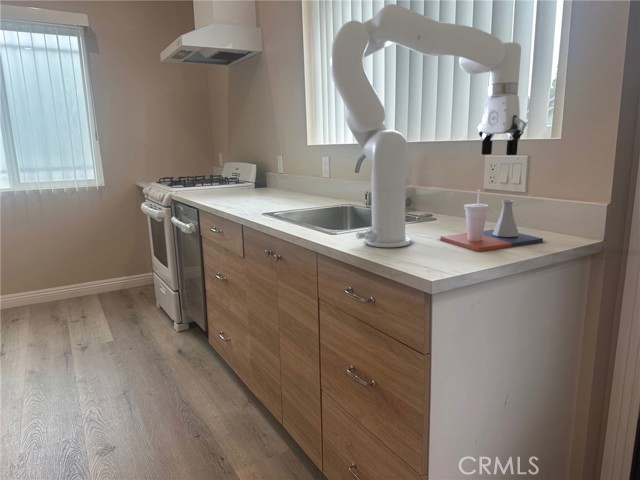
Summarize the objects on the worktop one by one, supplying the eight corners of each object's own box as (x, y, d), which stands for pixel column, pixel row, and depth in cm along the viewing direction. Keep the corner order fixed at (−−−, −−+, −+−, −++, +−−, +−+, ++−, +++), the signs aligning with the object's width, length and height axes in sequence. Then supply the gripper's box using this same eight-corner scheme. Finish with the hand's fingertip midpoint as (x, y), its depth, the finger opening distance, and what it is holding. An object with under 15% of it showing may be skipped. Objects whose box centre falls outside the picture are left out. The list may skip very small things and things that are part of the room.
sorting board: (478, 251, 111) (478, 247, 111) (440, 239, 126) (440, 236, 126) (542, 241, 119) (542, 238, 119) (499, 231, 134) (499, 228, 133)
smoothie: (484, 242, 116) (486, 190, 113) (460, 240, 120) (461, 190, 116) (489, 238, 121) (491, 188, 118) (465, 236, 125) (467, 187, 122)
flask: (522, 238, 120) (524, 202, 118) (494, 237, 122) (496, 202, 119) (516, 232, 127) (518, 198, 125) (489, 232, 128) (491, 199, 126)
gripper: (470, 95, 126) (467, 154, 130) (516, 87, 110) (511, 155, 114) (491, 95, 129) (487, 154, 132) (538, 88, 113) (532, 155, 117)
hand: (498, 154), depth 123 cm, fingers open, 9 cm apart
